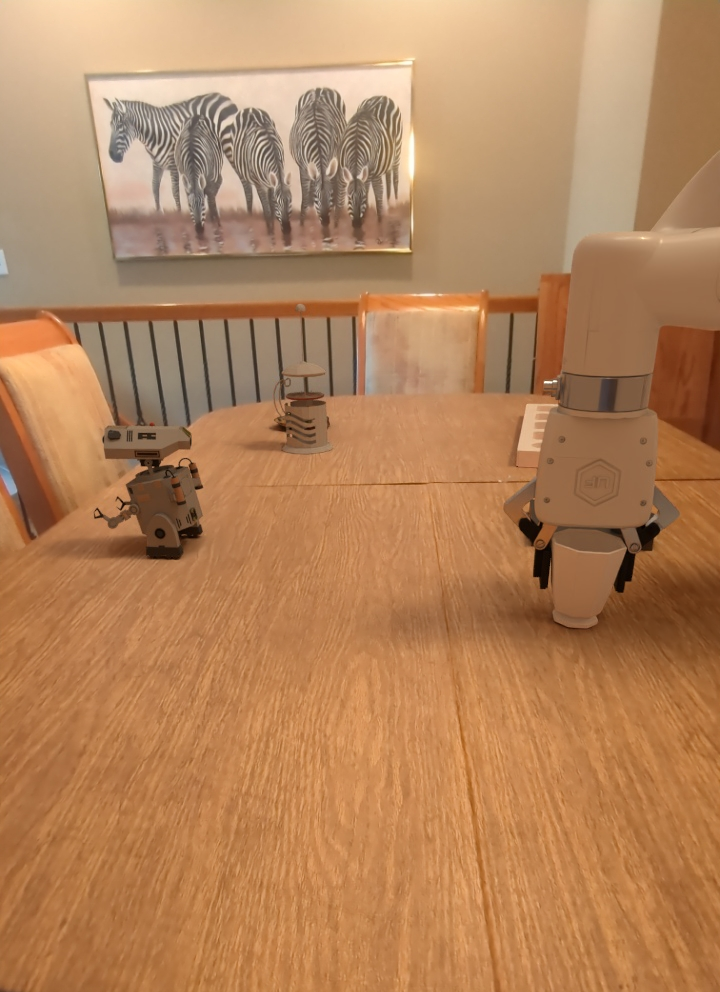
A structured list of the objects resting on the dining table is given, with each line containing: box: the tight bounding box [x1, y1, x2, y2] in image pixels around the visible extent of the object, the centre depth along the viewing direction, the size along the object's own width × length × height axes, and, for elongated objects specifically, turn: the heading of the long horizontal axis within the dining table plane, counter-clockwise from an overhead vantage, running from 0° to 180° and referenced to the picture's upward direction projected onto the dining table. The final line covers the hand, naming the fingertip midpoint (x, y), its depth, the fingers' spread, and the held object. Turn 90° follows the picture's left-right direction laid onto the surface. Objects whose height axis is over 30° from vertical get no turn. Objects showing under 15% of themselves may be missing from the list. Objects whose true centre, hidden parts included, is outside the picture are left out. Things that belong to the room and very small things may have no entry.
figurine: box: [93, 422, 204, 560], centre depth 92 cm, size 9×12×15 cm
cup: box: [550, 528, 627, 629], centre depth 73 cm, size 7×10×8 cm
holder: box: [515, 403, 558, 468], centre depth 144 cm, size 45×18×3 cm, turn 167°
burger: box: [273, 390, 331, 430], centre depth 159 cm, size 12×12×8 cm
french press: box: [272, 303, 334, 455], centre depth 138 cm, size 10×12×25 cm
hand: (580, 584), depth 73 cm, fingers closed on cup, 6 cm apart
